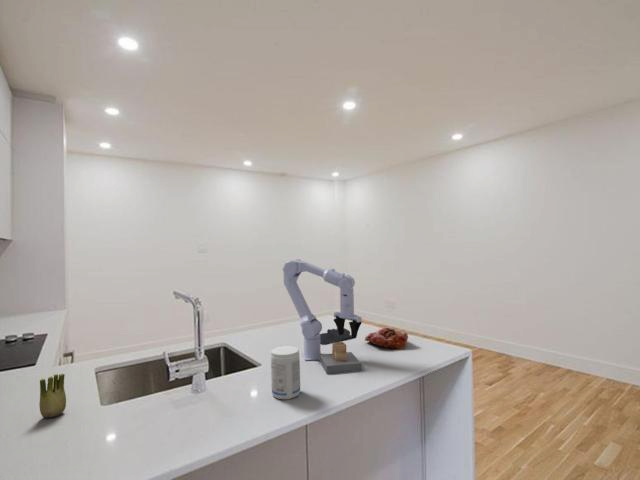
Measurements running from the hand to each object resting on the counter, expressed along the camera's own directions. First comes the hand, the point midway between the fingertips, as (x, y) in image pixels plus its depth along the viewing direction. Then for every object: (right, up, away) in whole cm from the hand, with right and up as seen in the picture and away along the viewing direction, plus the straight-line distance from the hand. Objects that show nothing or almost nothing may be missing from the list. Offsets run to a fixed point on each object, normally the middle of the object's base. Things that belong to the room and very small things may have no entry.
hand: (347, 336), depth 144 cm
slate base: (-4, -10, -6) cm, 12 cm away
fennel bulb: (-91, -11, -44) cm, 102 cm away
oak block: (-4, -7, -6) cm, 10 cm away
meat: (+20, -11, +23) cm, 33 cm away
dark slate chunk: (-6, -12, +35) cm, 37 cm away
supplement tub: (-23, -11, -31) cm, 40 cm away
